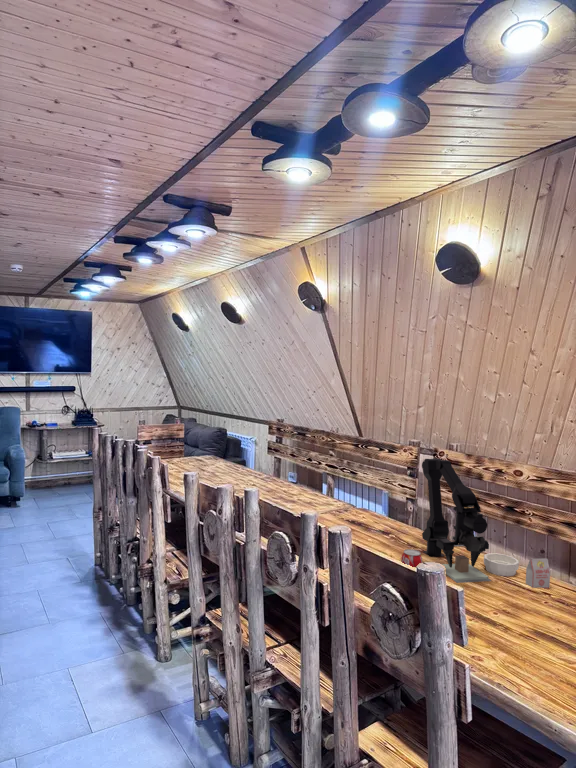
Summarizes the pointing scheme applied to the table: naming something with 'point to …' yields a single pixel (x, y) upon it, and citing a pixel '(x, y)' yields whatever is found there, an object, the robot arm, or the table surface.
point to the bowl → (501, 564)
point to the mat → (471, 580)
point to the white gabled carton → (538, 573)
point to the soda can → (411, 557)
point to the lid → (463, 570)
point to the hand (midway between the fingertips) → (461, 566)
